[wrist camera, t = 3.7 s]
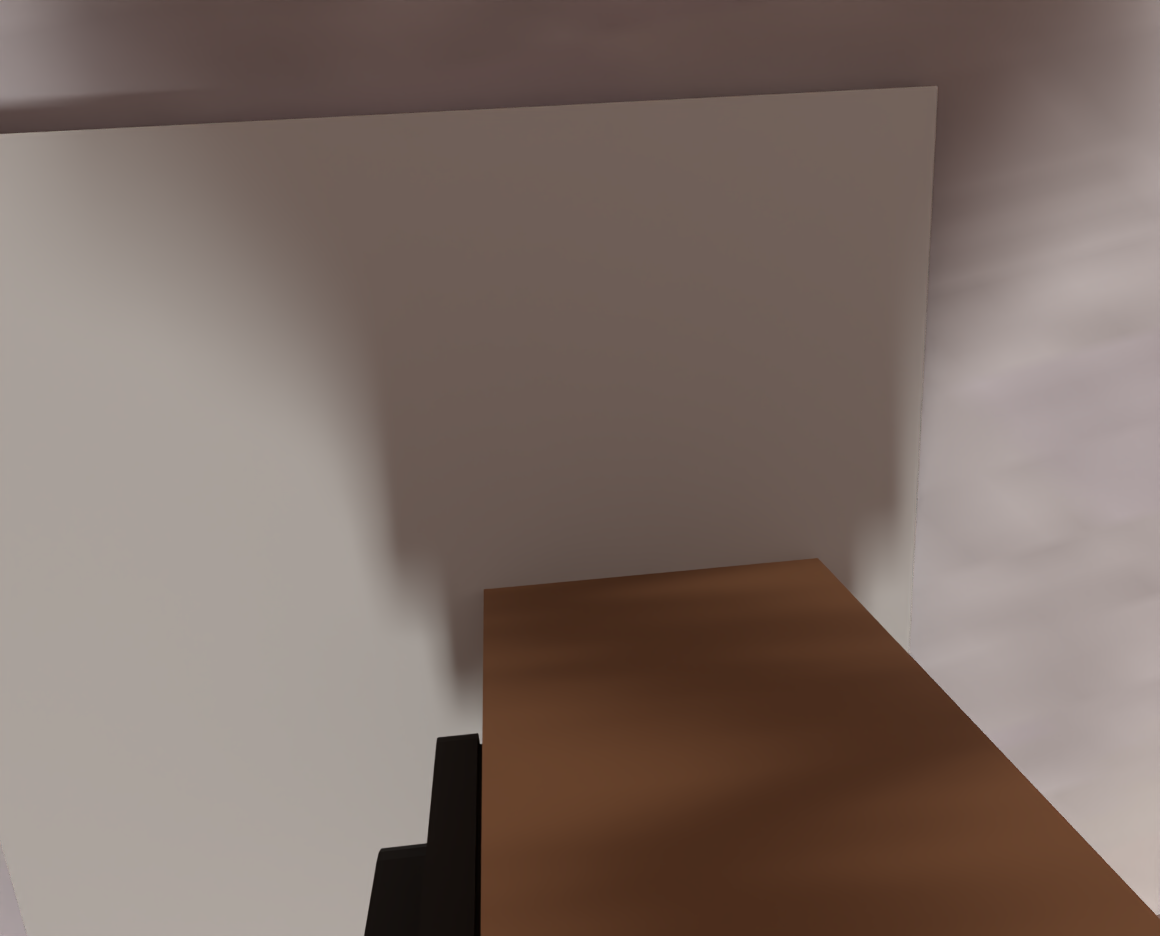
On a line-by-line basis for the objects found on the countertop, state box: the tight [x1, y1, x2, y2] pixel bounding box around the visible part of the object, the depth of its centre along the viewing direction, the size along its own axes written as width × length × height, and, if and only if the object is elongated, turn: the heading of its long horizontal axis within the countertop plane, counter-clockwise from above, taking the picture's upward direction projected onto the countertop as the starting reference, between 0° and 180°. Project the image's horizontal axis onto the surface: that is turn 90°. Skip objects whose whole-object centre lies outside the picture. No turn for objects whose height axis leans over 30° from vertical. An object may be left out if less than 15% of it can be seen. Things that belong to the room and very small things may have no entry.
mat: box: [0, 86, 938, 936], centre depth 14 cm, size 14×16×1 cm
